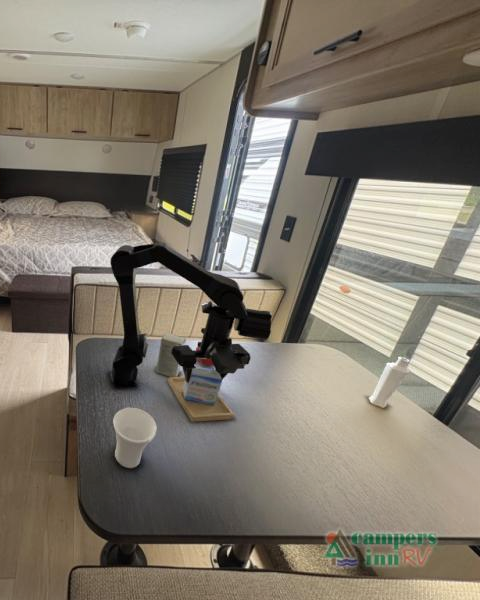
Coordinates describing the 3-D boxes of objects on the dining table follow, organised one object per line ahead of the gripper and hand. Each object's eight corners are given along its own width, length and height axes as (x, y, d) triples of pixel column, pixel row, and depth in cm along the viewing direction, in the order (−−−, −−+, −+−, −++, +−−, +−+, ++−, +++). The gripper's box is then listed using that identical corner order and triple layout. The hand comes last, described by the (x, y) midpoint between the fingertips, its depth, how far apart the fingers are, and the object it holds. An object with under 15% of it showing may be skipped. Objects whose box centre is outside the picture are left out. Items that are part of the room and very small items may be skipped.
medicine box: (183, 400, 81) (190, 374, 78) (182, 389, 85) (188, 364, 82) (214, 406, 80) (222, 380, 76) (211, 394, 84) (219, 369, 80)
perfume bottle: (388, 402, 86) (415, 359, 79) (388, 410, 83) (417, 366, 76) (367, 394, 88) (392, 351, 82) (366, 401, 85) (392, 358, 79)
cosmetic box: (179, 372, 93) (187, 338, 88) (175, 379, 90) (183, 345, 85) (159, 364, 96) (166, 331, 91) (154, 371, 93) (161, 337, 88)
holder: (191, 421, 75) (192, 416, 75) (167, 381, 89) (168, 377, 88) (232, 419, 77) (234, 414, 76) (203, 379, 90) (204, 375, 90)
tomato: (208, 354, 103) (213, 335, 100) (224, 368, 96) (230, 348, 93) (188, 356, 101) (193, 337, 98) (202, 371, 94) (208, 350, 91)
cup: (122, 483, 60) (129, 448, 55) (101, 446, 67) (105, 412, 63) (159, 468, 63) (167, 434, 59) (134, 434, 71) (140, 401, 67)
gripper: (197, 349, 65) (183, 404, 72) (275, 347, 68) (254, 401, 74) (176, 324, 75) (165, 374, 82) (244, 323, 78) (228, 372, 84)
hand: (203, 380), depth 80 cm, fingers open, 9 cm apart
